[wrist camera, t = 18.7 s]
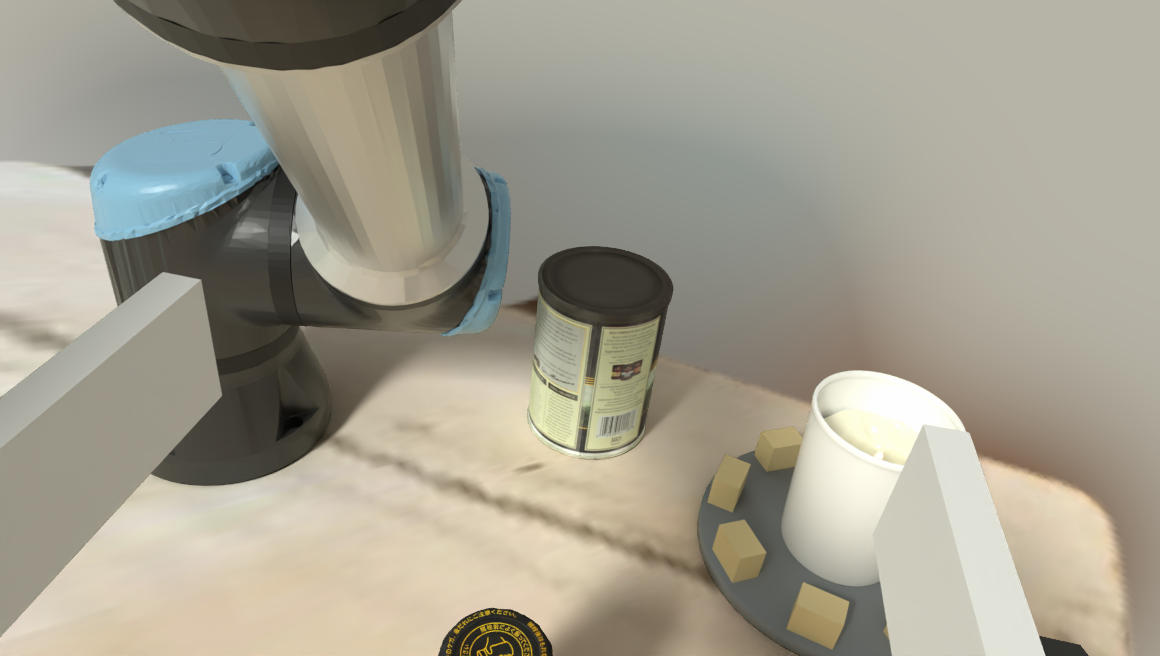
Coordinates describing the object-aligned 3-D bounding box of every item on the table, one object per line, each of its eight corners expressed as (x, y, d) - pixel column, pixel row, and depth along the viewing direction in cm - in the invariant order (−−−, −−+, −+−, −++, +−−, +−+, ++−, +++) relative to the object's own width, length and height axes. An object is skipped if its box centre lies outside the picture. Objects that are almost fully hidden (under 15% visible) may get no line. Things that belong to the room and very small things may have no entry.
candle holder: (842, 620, 53) (903, 490, 46) (741, 519, 59) (782, 392, 52) (933, 563, 58) (1000, 439, 51) (831, 476, 64) (878, 355, 57)
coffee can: (576, 367, 74) (594, 232, 67) (668, 419, 70) (699, 281, 62) (500, 417, 67) (510, 274, 60) (596, 480, 63) (620, 332, 55)
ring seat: (654, 478, 63) (662, 443, 61) (861, 440, 70) (875, 408, 68) (787, 710, 48) (803, 674, 46) (1036, 635, 55) (1060, 600, 53)
